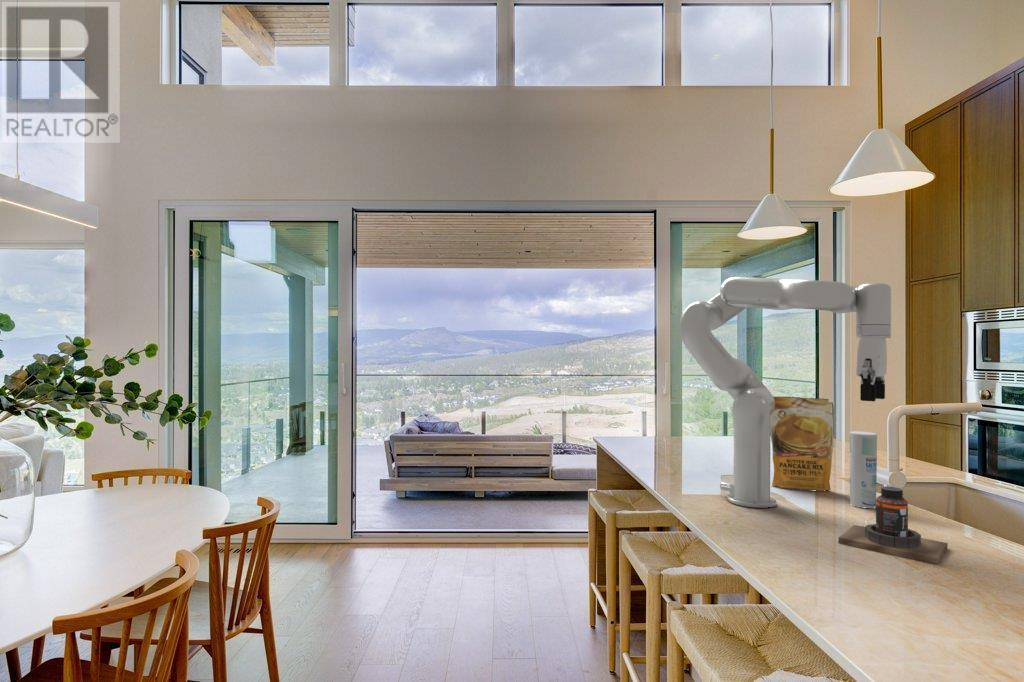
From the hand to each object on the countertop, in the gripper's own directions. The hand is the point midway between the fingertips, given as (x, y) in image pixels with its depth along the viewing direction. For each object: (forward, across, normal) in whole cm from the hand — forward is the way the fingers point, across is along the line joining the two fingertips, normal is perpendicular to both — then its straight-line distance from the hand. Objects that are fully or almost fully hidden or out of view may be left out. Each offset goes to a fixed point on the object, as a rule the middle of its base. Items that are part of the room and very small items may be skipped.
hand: (872, 399), depth 148 cm
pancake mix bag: (+31, -22, -24) cm, 45 cm away
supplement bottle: (+29, +19, +8) cm, 36 cm away
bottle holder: (+30, +19, +8) cm, 37 cm away
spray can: (+31, -13, -5) cm, 34 cm away
